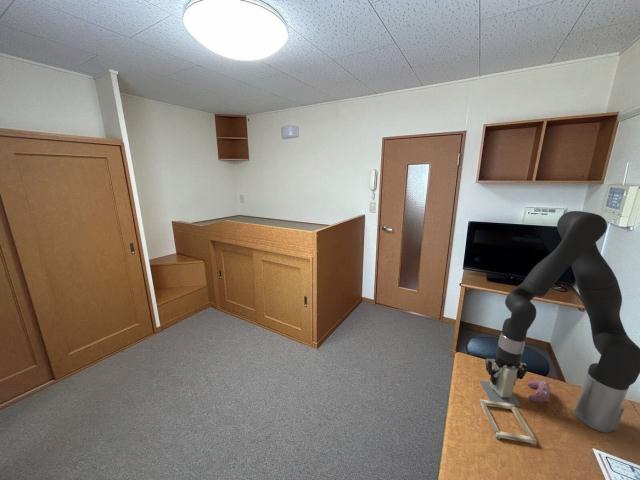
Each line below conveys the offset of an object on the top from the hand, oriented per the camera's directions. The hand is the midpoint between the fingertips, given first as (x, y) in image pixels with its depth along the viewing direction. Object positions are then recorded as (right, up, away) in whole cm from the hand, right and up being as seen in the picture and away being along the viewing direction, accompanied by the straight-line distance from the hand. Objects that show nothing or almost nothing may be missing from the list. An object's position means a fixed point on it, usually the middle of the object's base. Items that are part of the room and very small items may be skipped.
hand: (501, 384), depth 99 cm
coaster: (0, -4, +1) cm, 5 cm away
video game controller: (+14, -5, +1) cm, 15 cm away
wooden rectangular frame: (-6, -7, -11) cm, 14 cm away
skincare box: (0, -3, +1) cm, 3 cm away
